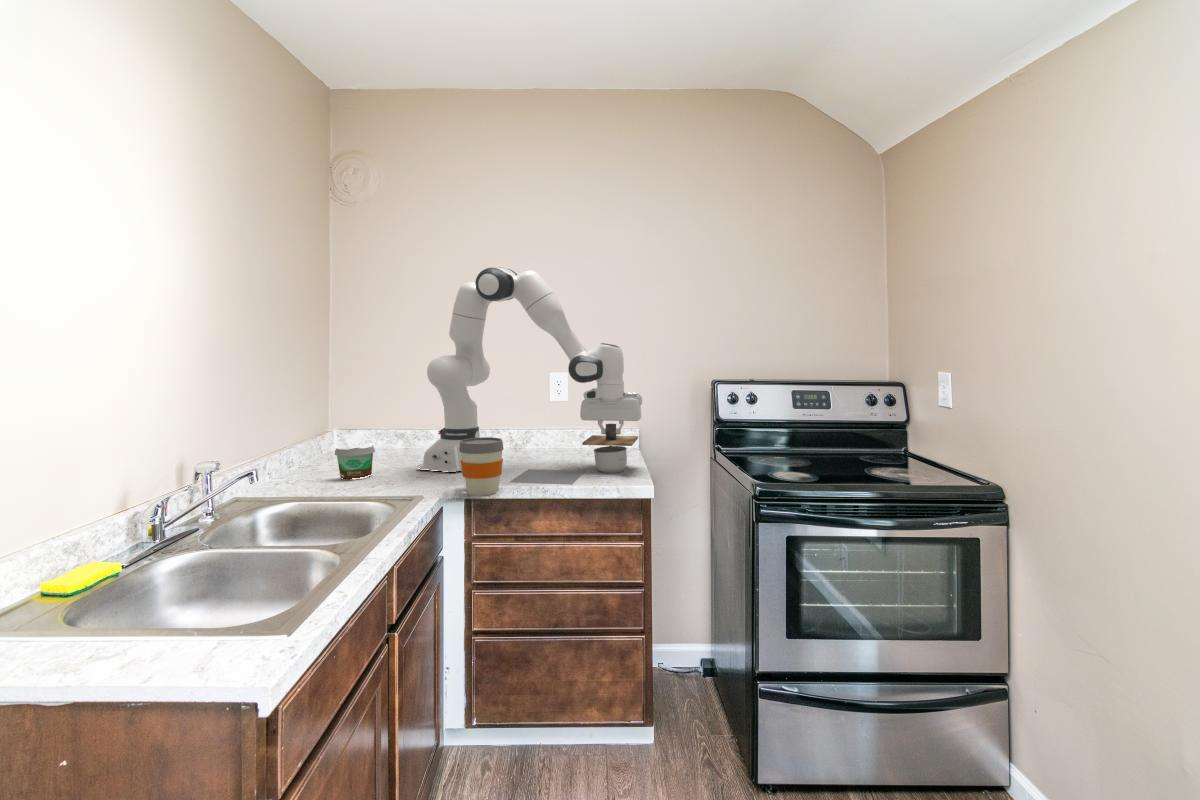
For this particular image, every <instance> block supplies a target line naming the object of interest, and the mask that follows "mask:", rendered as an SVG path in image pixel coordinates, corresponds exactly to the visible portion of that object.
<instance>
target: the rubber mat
mask: <svg viewBox="0 0 1200 800" xmlns="http://www.w3.org/2000/svg"><path fill="white" fill-rule="evenodd" d="M586 471H587V470H572V469H571V470H568V469H566V470H565V469H563V470H562V469H535V468H534V469H533V468H530V469H529V468H528V469H526V470H525V471H524V472H522V473H520V474H518V475H517V476H515V478H513V479H512V480H510V481H508V483H509V484H510V483H514V484H518V483H519V484H538V485H539V484H543V485H546V484H547V485H571V486H572V485H573V484H574V483H576V481H577V480H578V479H580V478H581V477H582V476H583V475H584V474H585V473H586Z"/></svg>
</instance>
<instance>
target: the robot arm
mask: <svg viewBox="0 0 1200 800" xmlns="http://www.w3.org/2000/svg"><path fill="white" fill-rule="evenodd" d="M513 299H515V300H516V301H518V302H519V304H520V305H521V307H522V308H523V309H524V311H525V313H526V314H527V315H528V316H529V318H530V320H532V322H533V323H534V324H535V325H536V326H537V327H538V328H539V329H541V330H543V331H544V332H546V333H547V334H549V335H550V336H551V337H552V338H553V339H554V340H556V342H557V344H558V345H559V346H560V347H561V349H562V351H563V352H564V354H565V355H566V357H567V358H568V360H569V363H568V366H567V367H568V368H567V369H568V374H569V376H570V377H571V378H572V380H574V381H575V382H576V383H580V384H587V383H591V382H594V381H595V382H597V383H596V388H595V387H594V388H591V389H590V390H586V391H585V392H583V395H582V396H583V400H582V402H581V405H580V412H579V413H580V414H579V417H580V419H581V420H582V421H593V422H595V421H597V425H598V427H599V428H600V433H601V435H606V427H605V428H604V426H603V423H604V422H605V421H606V422H607V421H608V422H609V421H610V422H611V421H612V422H618V424H619V427H618V428H616V435H621V434H622V428H623V426H624V424H625V422H639V421H640V420H641V419H642V407H641V406H642V404H643V398H642V395H640V394H639V393H637V392H625V382H624V378H623V377H624V376H623V374H624V369H625V367H624V366H625V365H624V353H623V349H622V348H621V347H620V346H618V345H615V344H610V343H605V342H602V343H598V345H596V346H594V347H593V348H592V349H590V350H587V349H585V347H584V346H583V345H582V343H581V341H580V340H579V339H578V338H577V335H576V333H574V331H573V330H572V328H571V326H570V324H569V323H568V320H567V317H566V314H565V312H564V309H563V307H562V304H561V302H560V301H559V299H558V297H557V296H556V294H555V293H554V291H553V289H552V288H551V287H550V285H549V284H548V283H547V282H546V280H545V279H544V278H542V276H541V275H540V274H539V273H538V272H537V271H535V270H531V269H530V270H524V271H522V272H520V273H519V274H518V273H516V272H515V271H514V270H512V269H510V268H505V267H501V266H496V267H486V268H484V269H482V270H481V271H480V272H479V273H478V274H477V276H476V278H475V282H474V281H469V282H465V283H463V284H461V285H460V287H459V289H458V291H457V293H456V297H455V301H454V304H453V307H452V308H453V309H452V315H451V320H450V325H449V333H448V334H449V335H448V336H449V338H450V339H451V340H452V341H453V342H454V347H455V354H452V355H450V354H449V355H442V356H439V357H436V358H434V359H432V360H430V362H429V364H428V366H427V368H426V375H427V378H428V381H429V382H430V383H431V385H432V386H434V387H435V388H436V390H437V392H438V393H439V396H440V398H441V401H442V405H443V413H444V415H443V416H444V427H443V428H442V429H441V428H440V430H438V431H437V432H438V435H440V436H439V439H437V441H436V442H434V443H433V444H432V445H431V446H429V447H428V448H427V449H426V450H425V451H424V455H423V459H422V461H423V462H422V463H420V464H418V465H417V466H416V469H417V468H420V469H429V470H438V471H448V472H455V471H461V472H462V467H461V460H462V458H461V452H459V448H460V441H461V440H464V439H470V438H481V436H480V427H479V425H478V405H477V403H476V401H474V400H473V399H472V397H471V396H470V394H469V391H468V387H475V386H478V385H479V384H482V383H484V382H486V381H487V380H488V378H489V376H490V373H491V368H490V364H489V362H488V360H487V359H486V358H485V355H484V349H483V336H484V330H485V325H486V324H485V323H486V318H487V312H488V310H489V309H488V308H489V306H490V304H491V303H493V302H501V303H502V302H505V301H510V300H513ZM419 466H420V467H419Z"/></svg>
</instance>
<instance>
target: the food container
mask: <svg viewBox="0 0 1200 800" xmlns="http://www.w3.org/2000/svg"><path fill="white" fill-rule="evenodd" d="M375 452H376V449H375V447H374V445H371V446H368V447H364V448H362V447H361V448H360V447H358V448H357V447H355V448H349V449H343V448H342V449H340V448H337V447H336V448H335V450H334V455H335V456H336V459H337V465H338V469H339V470H338V471H339V477H340V479H341V478H343V479H352V478H360V477H365V476H368V475H371V474H373V460H374V459H373V458H374V453H375ZM371 476H372V475H371ZM343 479H342V480H343Z"/></svg>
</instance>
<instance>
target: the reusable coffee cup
mask: <svg viewBox="0 0 1200 800" xmlns="http://www.w3.org/2000/svg"><path fill="white" fill-rule="evenodd" d="M503 450H504V442H503V439H502V438H499V437H489V436H488V437H487V436H486V437H484V436H483V437H481V436H480V437H479V438H470V439H464V440H461V441H460V448H459V452H461V458H462V460H461V467H462V471H461V472H462V473H461V474H462V477H464V483H465V488H466V493H467V494H468V495H470V496H479V497H480V496H490V495H495V494H496V493H497V492H498V491H499V488H500V487H499V486H500V480H501V479H500V477H501V475H502V473H503V463H504V459H503Z"/></svg>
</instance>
